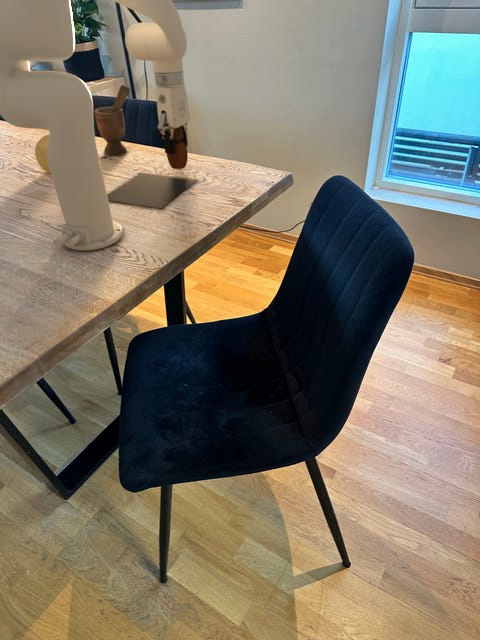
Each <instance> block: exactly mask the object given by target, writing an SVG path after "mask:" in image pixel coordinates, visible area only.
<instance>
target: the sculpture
mask: <svg viewBox="0 0 480 640" xmlns="http://www.w3.org/2000/svg"><path fill="white" fill-rule="evenodd" d="M49 136H50V133H49V134H46V135H43V136H42V137H41V138H40V139H38V141H37V142H36V144H35V148H34V153H35V154H34V155H35V159H36V161H37V164H38V165H39V167H40V168H41V169H42V170H43V171H44V172H46V173H47V174H50V175H51V172H50V169H49V166H48V162H47V157H46V149H47V144H48V141H49Z"/></svg>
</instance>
